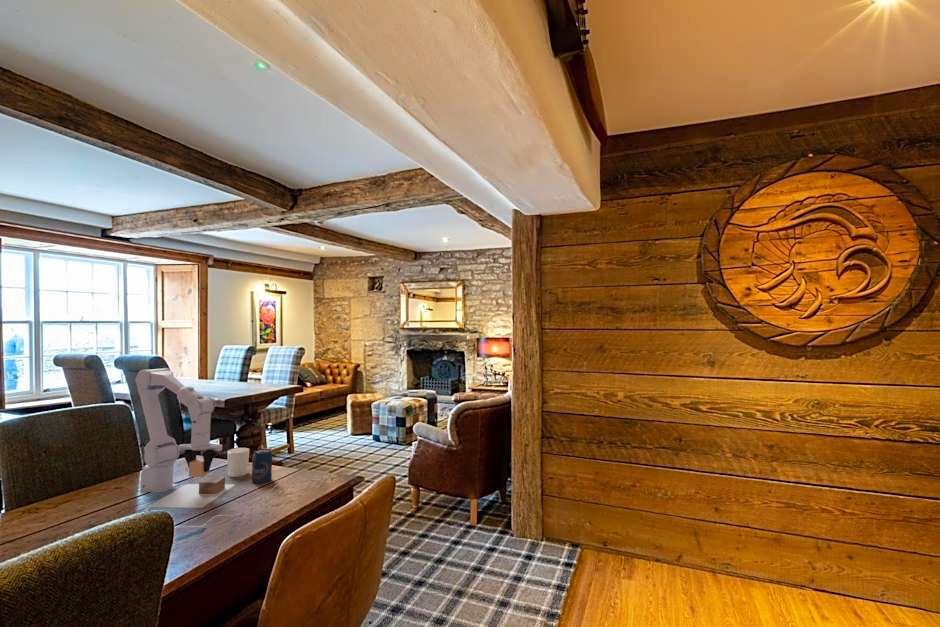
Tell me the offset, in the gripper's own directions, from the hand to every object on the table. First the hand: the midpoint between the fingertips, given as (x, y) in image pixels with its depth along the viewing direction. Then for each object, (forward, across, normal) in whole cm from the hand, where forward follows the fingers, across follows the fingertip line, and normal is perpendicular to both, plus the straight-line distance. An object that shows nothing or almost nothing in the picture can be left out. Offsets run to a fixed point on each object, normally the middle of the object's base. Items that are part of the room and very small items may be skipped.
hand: (199, 471), depth 159 cm
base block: (+8, +3, +3) cm, 9 cm away
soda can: (+9, +16, +14) cm, 23 cm away
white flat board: (+8, -1, -1) cm, 9 cm away
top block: (+1, 0, 0) cm, 1 cm away
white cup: (+9, +3, +22) cm, 24 cm away
